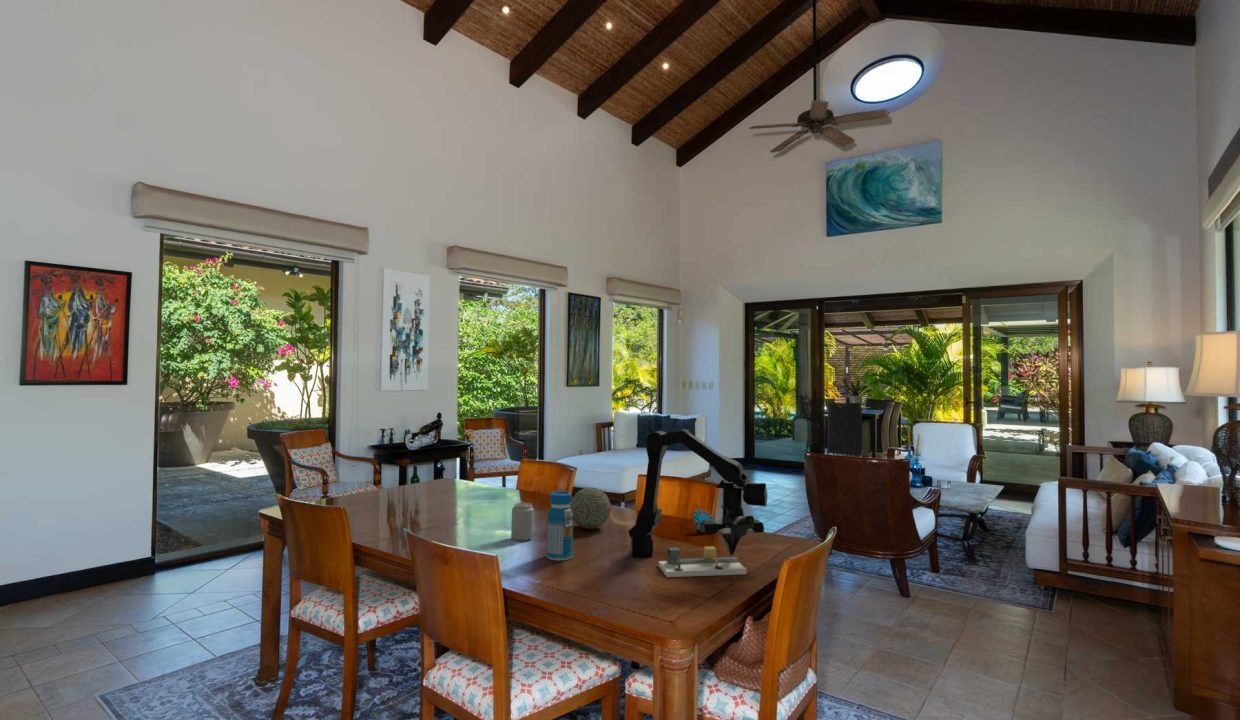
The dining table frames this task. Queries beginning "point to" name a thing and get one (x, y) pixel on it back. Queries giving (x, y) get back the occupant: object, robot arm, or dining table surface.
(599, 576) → the dining table surface
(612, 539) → the dining table surface
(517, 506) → the can
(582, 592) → the dining table surface
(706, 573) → the plate
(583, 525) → the decorative sphere
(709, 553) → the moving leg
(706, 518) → the gear
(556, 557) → the beverage bottle
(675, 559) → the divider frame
